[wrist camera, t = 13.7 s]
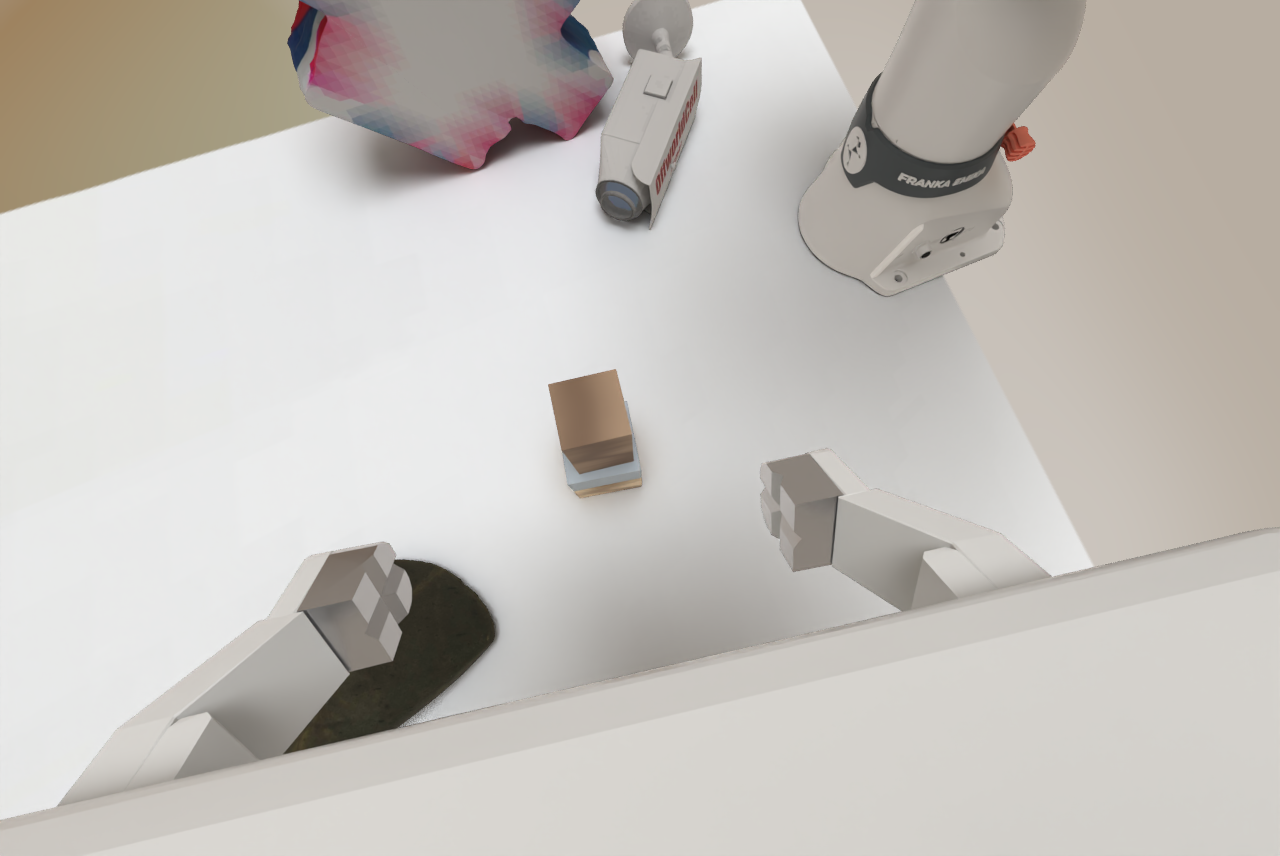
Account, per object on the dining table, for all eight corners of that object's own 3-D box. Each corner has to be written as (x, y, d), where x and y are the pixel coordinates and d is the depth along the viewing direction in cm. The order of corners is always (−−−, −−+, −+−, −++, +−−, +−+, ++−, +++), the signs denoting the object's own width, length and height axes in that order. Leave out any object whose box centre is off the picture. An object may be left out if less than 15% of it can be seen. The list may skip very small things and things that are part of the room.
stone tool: (357, 827, 37) (223, 794, 32) (354, 748, 44) (245, 711, 39) (513, 627, 41) (416, 571, 36) (487, 584, 48) (404, 532, 43)
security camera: (596, 191, 46) (748, 165, 47) (559, 1, 52) (694, -20, 52) (604, 243, 54) (733, 221, 55) (571, 74, 60) (688, 55, 60)
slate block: (627, 414, 44) (626, 400, 40) (640, 477, 42) (641, 470, 39) (563, 427, 44) (556, 414, 40) (574, 491, 42) (567, 484, 38)
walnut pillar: (621, 409, 40) (615, 369, 31) (633, 461, 39) (632, 434, 30) (568, 421, 40) (548, 384, 31) (579, 474, 39) (561, 450, 30)
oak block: (630, 427, 48) (629, 416, 44) (641, 486, 46) (641, 480, 42) (570, 438, 48) (564, 428, 44) (580, 498, 46) (575, 493, 42)
